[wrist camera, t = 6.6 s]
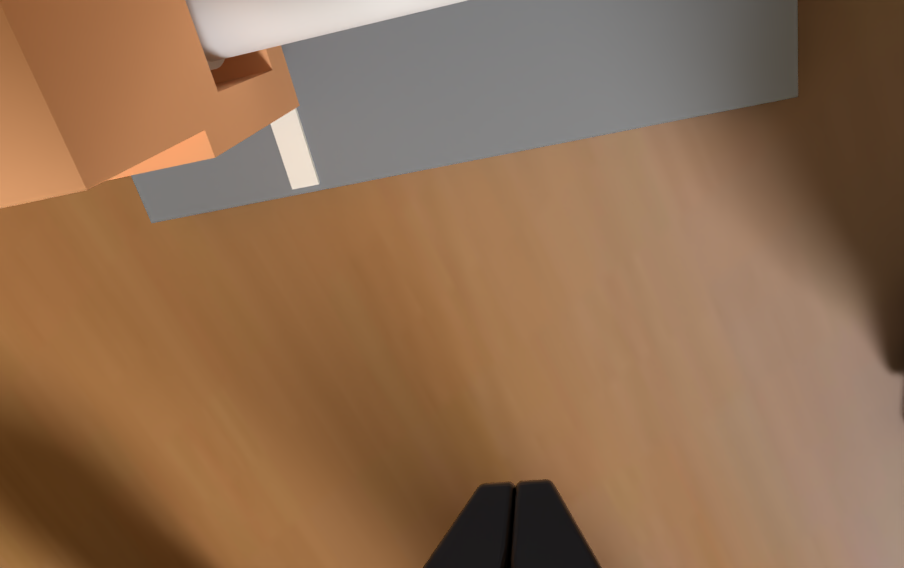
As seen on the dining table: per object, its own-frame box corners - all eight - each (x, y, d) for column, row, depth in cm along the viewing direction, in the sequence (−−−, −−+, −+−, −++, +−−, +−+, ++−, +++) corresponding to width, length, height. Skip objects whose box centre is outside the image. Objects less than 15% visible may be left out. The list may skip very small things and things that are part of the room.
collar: (228, -125, 14) (-110, -233, 7) (300, 105, 16) (103, 226, 9) (106, -89, 15) (-337, -151, 7) (190, 130, 17) (-85, 263, 9)
